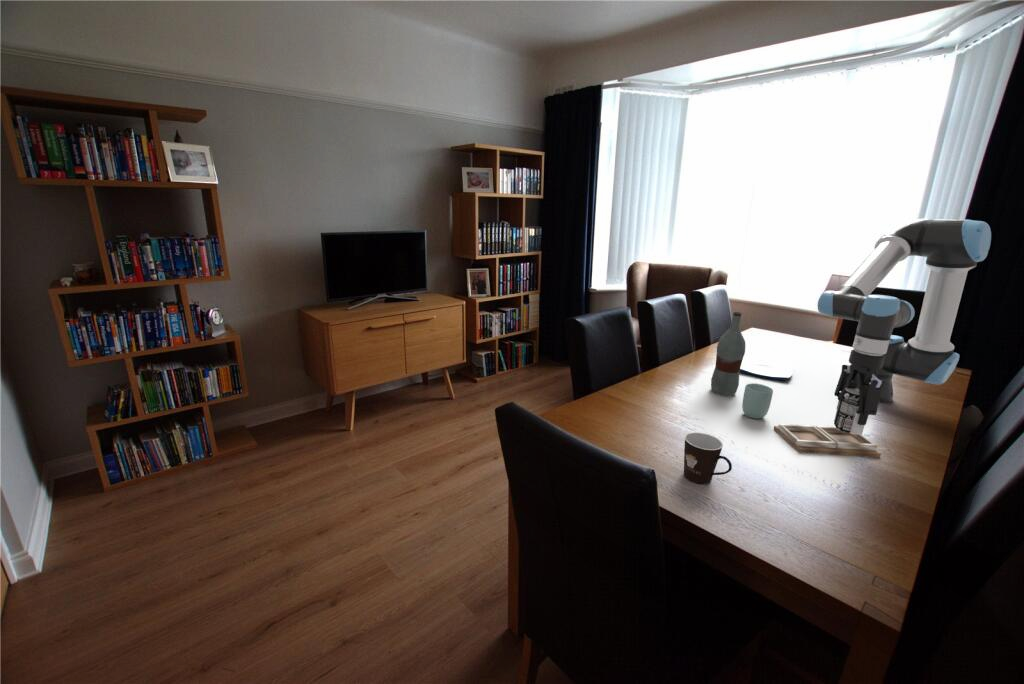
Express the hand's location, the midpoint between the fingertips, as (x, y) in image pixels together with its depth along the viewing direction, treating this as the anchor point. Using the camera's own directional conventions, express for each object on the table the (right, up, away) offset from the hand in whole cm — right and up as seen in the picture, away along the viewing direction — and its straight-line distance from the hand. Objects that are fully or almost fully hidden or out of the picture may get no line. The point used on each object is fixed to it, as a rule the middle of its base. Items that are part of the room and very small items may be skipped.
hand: (847, 427), depth 132 cm
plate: (+9, +12, +61) cm, 63 cm away
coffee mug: (-51, -9, -20) cm, 55 cm away
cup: (-18, 0, +17) cm, 25 cm away
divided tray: (-6, -5, +2) cm, 7 cm away
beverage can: (0, -1, 0) cm, 1 cm away
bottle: (-19, +6, +37) cm, 42 cm away
